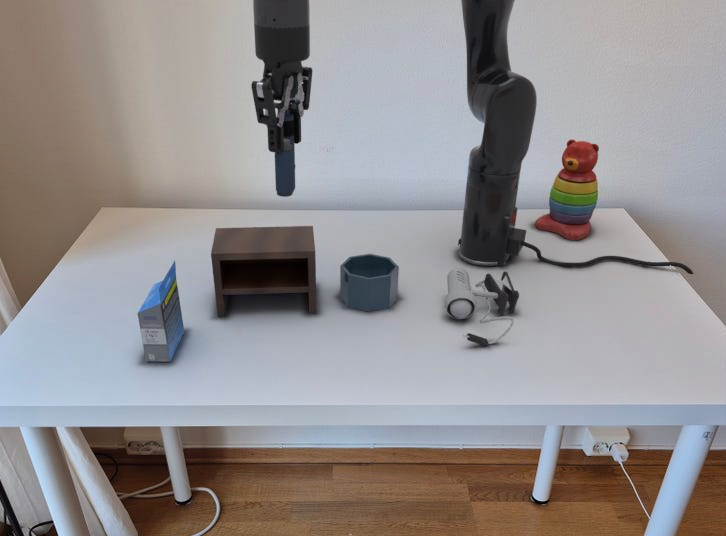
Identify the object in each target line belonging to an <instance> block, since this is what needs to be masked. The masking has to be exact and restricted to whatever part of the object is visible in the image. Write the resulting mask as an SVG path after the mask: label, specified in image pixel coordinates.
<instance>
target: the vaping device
mask: <svg viewBox="0 0 726 536" xmlns="http://www.w3.org/2000/svg"><path fill="white" fill-rule="evenodd" d="M293 123H294V115H293V114H289V108H288V109H287V110H286V111H285V112H284V120H283V125H282V126H283V135H284V151H283V152H281V153H275V152H274V174H275V175H274V176H275V177H274V178H275V192H276V195H277V196H279V197H282V198H286V197H291V196H293V194H294V192H295V190H296V155H295V154H296V152H295V151H296V149H295V147H296V146H295V142H294V131H293V130H294V124H293Z"/></svg>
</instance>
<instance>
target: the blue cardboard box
mask: <svg viewBox="0 0 726 536" xmlns="http://www.w3.org/2000/svg"><path fill="white" fill-rule="evenodd" d="M176 266H177V265H176V260H173V262H172V264H171V266H170V267H169V269H168V271H167V272H166V274H165V276H164V277H163V280H162V281H159V282H157V283H154V284H153V285H152V287H151V289H150V291H149V293H148V294H147V296H146V298H145V299H144V300H143V301H144V302H143V303H142V305H141V306H140V308H139V309H138V311H137V313H136V314H137V319H138V325H139V329H140V335H141V342H142V346H143V352H144V358H145V361H146V362H147V363H171V362H172V359H173V357H174V355H175V353H176V351H177V349H178V347H179V344H180V343H181V340H182V338H183V335H184V333H185V326H184V320H183V314H182V313H183V312H182V307H181V301H180V294H179V288H178V281H177V268H176Z"/></svg>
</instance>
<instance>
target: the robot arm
mask: <svg viewBox="0 0 726 536" xmlns="http://www.w3.org/2000/svg"><path fill="white" fill-rule="evenodd" d="M515 1H516V0H460V4H461V11H462V12H461V13H462V21H463V22H462V23H463V29H464V37H465V49H466V51H465V53H466V98H467V104H468V108H469V110H470V112H471V114H472V115H473V117H474V118H475V119H476V120H477V121H479V122H480V123H482V124H484V125H483V132H482V138H481V143H480V145H476V146H474V147H473V148H472V149H470V151H469V156H468V157H469V158H468V163H467V164H468V166H467V175H466V184H465V194H464V204H463V212H462V213H463V214H462V222H461V223H462V224H461V232H460V238H458V242H457V243H458V244H457V246H458V247H459V249H458V256H459V258H460V259H461V260H463V261H464V262H466V263H468V264H472V265H476V266H482V267H494V266H495V267H496V266H499V267H504V266H505V264H506V263H507V261H509V258H510V256H511V255H513V256H519V254H520V252H521V251H522V250H523V247H526V248H528V249H530V250H532V251H534V252H535V253H536V258H538V260H539V261H541V262H543V263H545V264H550V265H552V266H553V265H554V266H558V267H565V268H579V267H580V268H581V267H582V268H583V267H588V266H592V265H593V264H596V263H598V262H602V261H620V262H626V263H630V264H635V265H640V266H646V267H675V268H680V269H682V270H684V271H685V272H686V273H687V274H689V275H694V272H693V270H692V269H691V268H690V267H689V266H688V265H686V264H684V263H681V262H675V261H658V262H657V261H645V260H641V259H636V258H631V257H627V256H619V255H603V256H602V255H601V256H598V257H595V258H592V259H590V260H587V261H583V262H581V261H580V262H564V261H563V262H561V261H554V260H550V259H549V258H546V257H544V256H542V252H541V250H540V249H539V248H538V247H537V246H535V245H534V244H531V243H529V242H526V235H527V229H523V228H517V227H516V221H517V214H518V207H517V206H516V204H517V197H518V191H519V184H520V177H521V171H522V165H523V161H524V159H525V158H526V156H527V154H528V152H529V148H530V144H531V138H532V135H533V134H532V133H533V128H534V123H535V119H536V113H537V105H538V104H537V103H538V99H537V98H538V97H537V90H536V88H535V86H534V84H533V82H532V81H531V80H530V79H529V78H527V77H525V76H524V75H521V74H519V73H517V72H514V71H512V66H511V63H510V55H509V45H508V29H509V22H510V18H511V15H512V11H513V8H514V4H515ZM252 2H253V3H252V4H253V5H252V8H253V9H252V10H253V28H254V29H253V30H254V31H253V32H254V49H255V50H254V52H255V56H256V58H257V59H258V60H261V61H262V62H263V65H264V66H263V73H262V78H261V80H259V81H258V80H253V81H251V84H250V85H251V92H252V93H251V94H252V98H253V103H254V104H253V105H254V109H255V115H256V120H257V123H258V124H262V125H265V126H266V128H267V129H266V130H267V149H268V151H269V152H270V153H274V154H275V153H281V152H283V151H284V135H283V126H282V125H283V120H284V112H285V111H286V110H287V109H288V108H289V114H293V115H294V123H293V124H294V130H293V131H294V142H295V143H294V145H297V144H300V143H301V142H302V118H303V116H304V114H305V111H308V110H309V109H310V101H311V90H312V80H313V67H310V66H309V67H308V66H303V64H302V62H304V61H307V60H308V59H309V58H310V56H311V35H310V34H311V30H310V29H311V28H310V27H311V26H310V25H311V24H310V16H311V15H310V13H311V11H310V0H252ZM275 101H278V102H275ZM264 110H265V111H264ZM276 110H277V112H276ZM670 265H671V266H670Z"/></svg>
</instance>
